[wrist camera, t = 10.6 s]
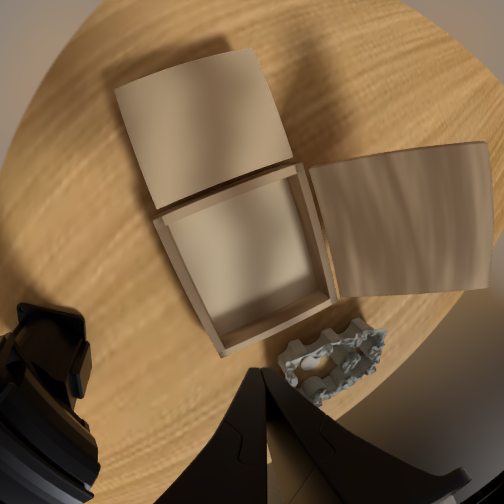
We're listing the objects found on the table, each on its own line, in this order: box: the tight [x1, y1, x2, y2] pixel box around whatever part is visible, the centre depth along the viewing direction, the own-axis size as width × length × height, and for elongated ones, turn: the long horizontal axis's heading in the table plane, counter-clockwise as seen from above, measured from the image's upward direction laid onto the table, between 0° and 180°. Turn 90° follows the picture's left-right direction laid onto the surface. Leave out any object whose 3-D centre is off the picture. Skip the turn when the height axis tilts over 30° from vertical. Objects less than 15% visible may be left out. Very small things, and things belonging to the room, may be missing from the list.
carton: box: [114, 47, 338, 358], centre depth 18 cm, size 10×20×2 cm, turn 20°
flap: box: [309, 141, 494, 297], centre depth 16 cm, size 1×10×12 cm
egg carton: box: [278, 317, 388, 407], centre depth 24 cm, size 11×8×4 cm
